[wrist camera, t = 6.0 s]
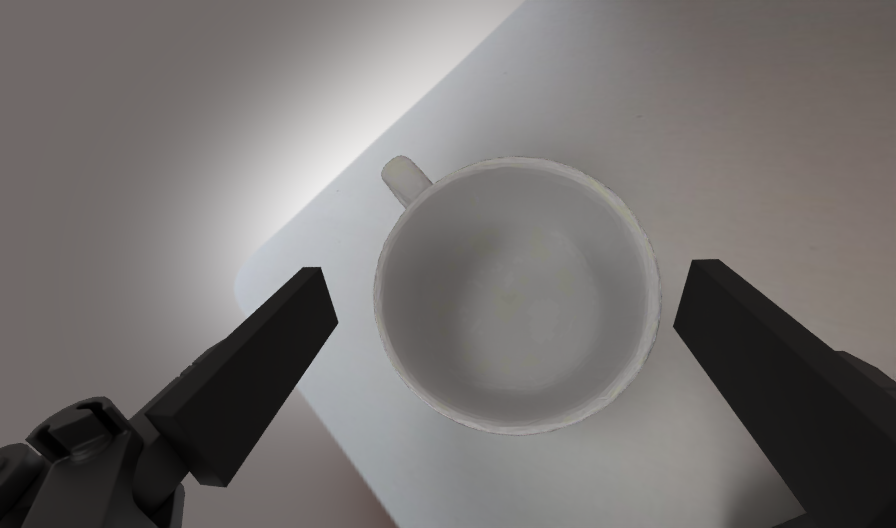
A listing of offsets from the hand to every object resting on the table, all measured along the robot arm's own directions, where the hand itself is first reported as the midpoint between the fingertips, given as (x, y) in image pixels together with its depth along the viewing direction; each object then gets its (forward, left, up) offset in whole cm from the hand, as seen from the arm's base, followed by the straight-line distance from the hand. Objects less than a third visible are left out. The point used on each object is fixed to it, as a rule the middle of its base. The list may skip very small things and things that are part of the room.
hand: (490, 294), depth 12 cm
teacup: (+1, +2, -8) cm, 8 cm away
